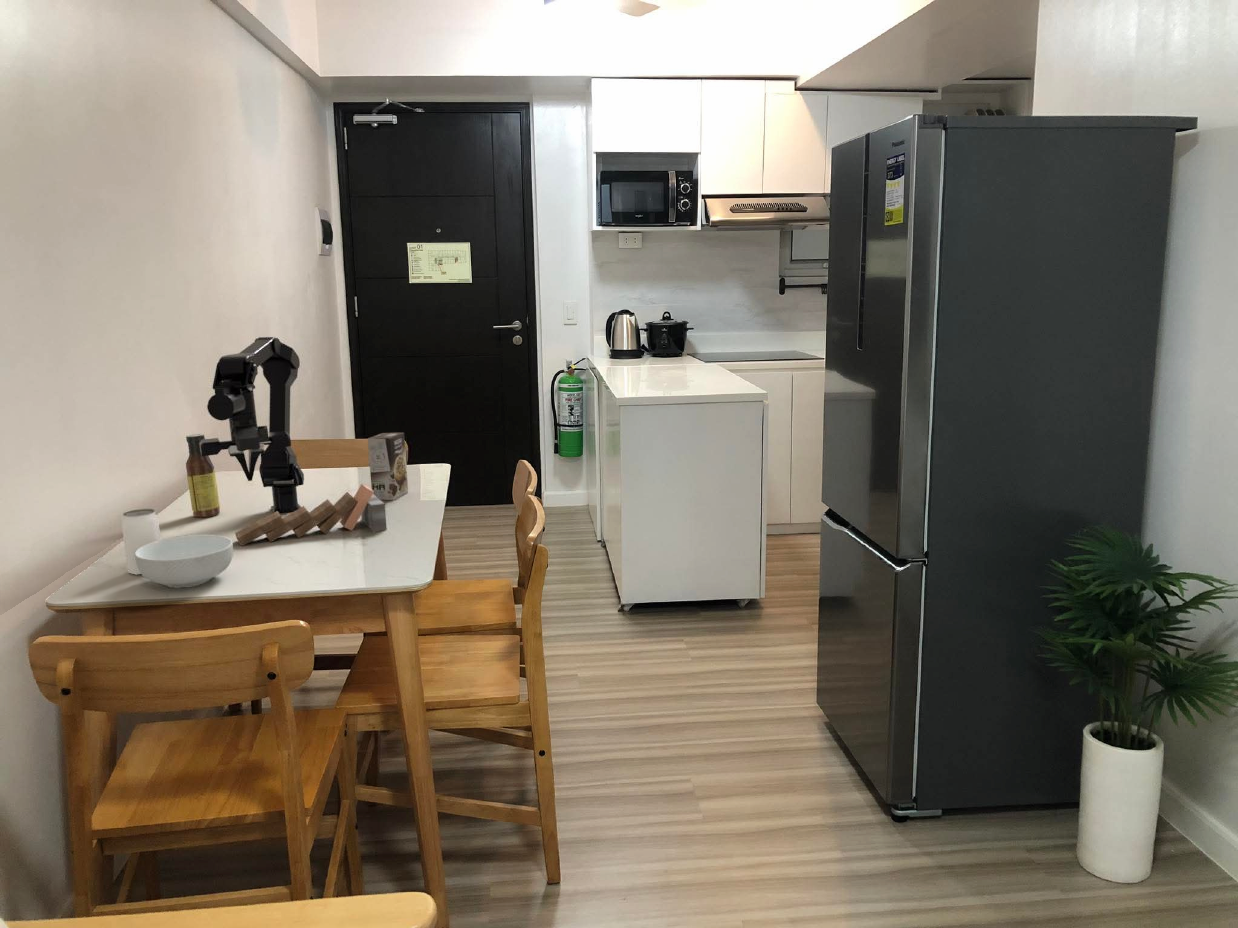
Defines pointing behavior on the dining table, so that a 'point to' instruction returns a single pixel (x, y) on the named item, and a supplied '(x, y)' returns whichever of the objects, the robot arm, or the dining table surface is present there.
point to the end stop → (374, 514)
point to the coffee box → (388, 465)
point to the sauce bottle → (201, 480)
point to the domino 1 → (259, 528)
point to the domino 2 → (290, 523)
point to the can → (138, 533)
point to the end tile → (357, 507)
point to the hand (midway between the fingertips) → (249, 480)
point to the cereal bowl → (184, 559)
